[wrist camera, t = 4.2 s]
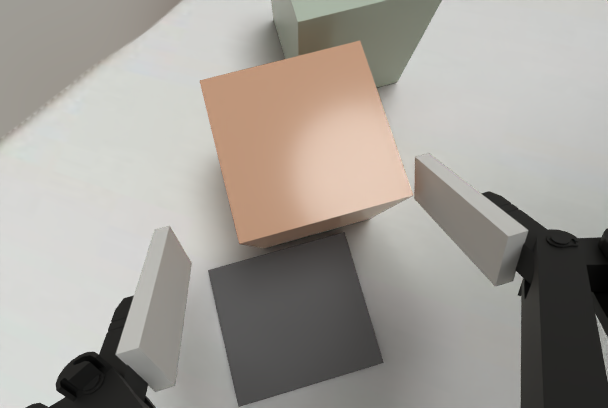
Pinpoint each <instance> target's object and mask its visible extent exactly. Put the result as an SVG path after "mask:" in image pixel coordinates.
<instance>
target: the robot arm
mask: <svg viewBox="0 0 608 408" xmlns="http://www.w3.org/2000/svg"><path fill="white" fill-rule="evenodd" d="M414 199H415V200H416V201H417V202H418V203H419V204H420V205H421V207H422V208H423V209H424V210H425V211H426V212H427V213H428V214H429V215H430V216H431V217H432V218H433V220H434V221H435V222H436V223H437V224H438V225H439V226H440V227H441V228H442V229H443V230H444V231H445V233H446V234H447V235H448V236H449V237H450V238H451V239H452V240H453V241H454V242H455V243H456V244H457V246H458V247H459V248H460V249H461V250H462V251H463V252H464V253H465V254H466V255H467V256H468V257H469V259H470V260H471V261H472V262H473V263H474V264H475V265H476V266H477V267H478V268H479V269H480V270H481V272H482V273H483V274H484V275H485V276H486V277H487V278H488V279H489V280H490V281H491V282H492V283H493V285H494V286H499V285H502V284H505V283H508V282H511V281H513V279H514V276H515V273H516V271H517V272H518V273H519V274H520V275H521V276H522V277H523V281H522V284H521V287H520V290H519V293H518V296H521V295H522V302H521V408H608V381H607V376H606V370H605V365H604V359H603V354H602V349H601V343H600V338H599V332H598V327H597V321H596V316H595V314H596V315H597V317H598V319H599V321H600V323H601V325H602V327H603V329H604V331H605V333H606V334H607V336H608V229H606V230H605V231H604V233H603V235H602V237H601V238H577V237H575V236H574V235H572V234H570V233H568V232H565V231H561V230H551V229H549V230H547V229H546V228H544V227H543V226H542V225H540V224H539V223H538V222H536V221H535V220H534V219H532V218H531V217H529V216H528V215H527V214H525V213H524V212H523V211H521V210H518V208H517V207H516V206H514V205H513V204H512V205H511V203H510V202H509V201H507V200H506V199H505V198H503V197H502V196H500V195H497V194H495V193H492V192H485V193H482V194H481V193H480V192H478V191H477V190H476V189H475V188H473V187H472V186H471V185H469V184H468V183H467V182H466V181H464V180H463V179H462V178H460V177H459V176H458V175H457V174H455V173H454V172H453V171H451V170H450V169H449V168H448V167H446V166H445V165H444V164H442V163H441V162H440V161H439V160H437V159H436V158H435V157H433V156H432V155H431V154H430V153H427V154H423V155H420V156H416V157H415V192H414ZM191 264H192V263H191V261H190V259H189V258H188V256H187V254H186V253H185V251H184V249H183V248H182V246H181V244H180V242H179V241H178V239H177V237H176V236H175V234H174V232H173V231H172V229H171V227H170V226H167V227H163V228H159V229H156V230H154V233H153V236H152V240H151V243H150V246H149V249H148V252H147V256H146V259H145V262H144V265H143V268H142V272H141V275H140V278H139V281H138V284H137V288H136V291H135V294H134V296H131V297H127V298H124V299H123V300H122V301H121V303H120V304H119V306H118V307H117V308H116V310H115V312H114V315H113V318H112V320H111V322H112V323H110V326H109V329H108V333H107V334H106V337H105V340H104V343H103V345H102V348H101V351H100V354H97V353H95V352H87V353H84V354H81V355H79V356H78V357H76V358H75V359H73V360H72V361H71V362H70V363H69V364H68V365H67V366H66V367H65V368H64V369H63V370H62V372H61V373H60V375H59V376H58V379H57V382H56V391H58V392H59V393H61V394H62V395H64V396H65V398H63V399H62V400H60V401H58V402H57V403H55V404H53V405H52V406H50V407H47V406H45V405H43V404H41V403H36V404H32V405H30V406H28V407H26V408H156V407H155V406H154V405H153V403H152V402H151V401H150V400H149V399H148V398H147V397H146V392H147V387H148V386H150V387H151V388H152V389H153V390H154V391H155V392H156V391H159V390H163V389H166V388H169V387H172V386H175V383H176V375H177V368H178V360H179V353H180V346H181V338H182V331H183V323H184V316H185V309H186V301H187V294H188V286H189V279H190V272H191Z"/></svg>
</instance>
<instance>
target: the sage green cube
mask: <svg viewBox="0 0 608 408" xmlns="http://www.w3.org/2000/svg"><path fill="white" fill-rule="evenodd" d="M441 1H442V0H271V4H272V12H273V20H274V23H275V26H276V30H277V33H278V37H279V40H280V43H281V47H282V50H283V53H284V57H285V59H288V58H292V57H296V56H300V55H304V54H308V53H312V52H316V51H320V50H324V49H328V48H332V47H336V46H340V45H344V44H348V43H352V42H356V41H361V44H362V47H363V50H364V53H365V56H366V59H367V62H368V65H369V68H370V71H371V73H372V76H373V79H374V82H375V85H376V88H377V87H381V86H385V85H388V84H392V83H396V82H398V80H399V78H400V76H401V74H402V72H403V71H404V69H405V67H406V65H407V63H408V61H409V60H410V58H411V56H412V54H413V52H414V50H415V49H416V47H417V45H418V43H419V41H420V39H421V38H422V36H423V34H424V32H425V30H426V28H427V27H428V25H429V23H430V21H431V19H432V17H433V16H434V14H435V12H436V10H437V8H438V6H439V5H440V3H441Z"/></svg>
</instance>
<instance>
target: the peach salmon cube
mask: <svg viewBox="0 0 608 408" xmlns="http://www.w3.org/2000/svg"><path fill="white" fill-rule="evenodd" d="M200 84H201V88H202V92H203V96H204V101H205V105H206V109H207V113H208V117H209V121H210V125H211V129H212V133H213V138H214V142H215V146H216V150H217V154H218V158H219V162H220V166H221V171H222V175H223V179H224V183H225V187H226V191H227V195H228V199H229V203H230V208H231V212H232V216H233V220H234V224H235V228H236V232H237V236H238V240H239V244H243V245H248V246H253V247H259V248H264V249H265V248H268V247H272V246H275V245H279V244H282V243H286V242H289V241H293V240H297V239H300V238H304V237H307V236H311V235H314V234H318V233H322V232H325V231H329V230H332V229H336V228H339V227H343V226H347V225H350V224H354V223H357V222H361V221H364V220H368V219H371V218H373V217H375V216H376V215H378V214H380V213H382V212H384V211H386V210H387V209H389V208H391V207H393V206H395V205H397V204H398V203H400V202H402V201H404V200H406V199H408V198H410V197H411V196H413V193H412V190H411V187H410V184H409V181H408V178H407V175H406V172H405V169H404V167H403V164H402V161H401V158H400V155H399V152H398V149H397V146H396V143H395V140H394V137H393V135H392V132H391V129H390V126H389V123H388V120H387V117H386V114H385V111H384V108H383V105H382V103H381V100H380V97H379V94H378V91H377V88H376V85H375V82H374V79H373V76H372V73H371V71H370V68H369V65H368V62H367V59H366V56H365V53H364V50H363V47H362V44H361V41H356V42H352V43H348V44H344V45H340V46H336V47H332V48H328V49H324V50H320V51H316V52H312V53H308V54H304V55H300V56H296V57H292V58H288V59H284V60H280V61H276V62H272V63H268V64H264V65H260V66H256V67H252V68H248V69H244V70H240V71H236V72H232V73H228V74H224V75H220V76H216V77H212V78H208V79H204V80H200Z"/></svg>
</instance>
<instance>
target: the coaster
mask: <svg viewBox="0 0 608 408" xmlns="http://www.w3.org/2000/svg"><path fill="white" fill-rule="evenodd" d="M208 272H209V276H210V281H211V285H212V290H213V294H214V299H215V303H216V308H217V312H218V317H219V321H220V326H221V330H222V335H223V339H224V343H225V348H226V352H227V357H228V361H229V366H230V370H231V375H232V379H233V384H234V388H235V393H236V397H237V402H238V406H239V407H240V406H243V405H246V404H249V403H253V402H256V401H259V400H263V399H266V398H269V397H272V396H276V395H279V394H282V393H286V392H289V391H292V390H295V389H299V388H302V387H305V386H309V385H312V384H315V383H318V382H322V381H325V380H328V379H331V378H335V377H338V376H341V375H345V374H348V373H351V372H354V371H358V370H361V369H364V368H368V367H371V366H374V365H377V364H381V363H384V362H383V359H382V356H381V353H380V349H379V346H378V343H377V339H376V336H375V333H374V329H373V326H372V323H371V319H370V316H369V313H368V309H367V306H366V303H365V299H364V296H363V293H362V289H361V286H360V283H359V279H358V276H357V273H356V269H355V266H354V263H353V259H352V256H351V253H350V249H349V246H348V243H347V239H346V236H345V233H344V232H343V233H339V234H336V235H332V236H329V237H325V238H322V239H318V240H315V241H311V242H307V243H304V244H300V245H297V246H293V247H290V248H286V249H283V250H279V251H275V252H272V253H268V254H265V255H261V256H258V257H254V258H251V259H247V260H243V261H240V262H236V263H233V264H229V265H226V266H222V267H219V268H215V269H211V270H208Z"/></svg>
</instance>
